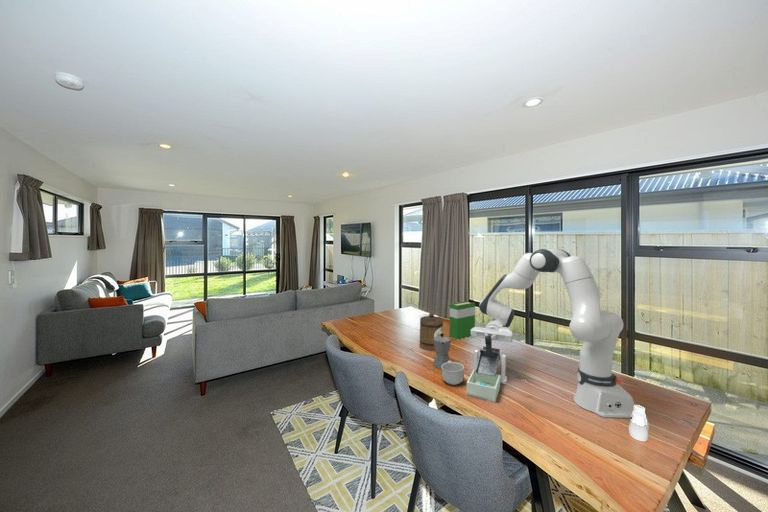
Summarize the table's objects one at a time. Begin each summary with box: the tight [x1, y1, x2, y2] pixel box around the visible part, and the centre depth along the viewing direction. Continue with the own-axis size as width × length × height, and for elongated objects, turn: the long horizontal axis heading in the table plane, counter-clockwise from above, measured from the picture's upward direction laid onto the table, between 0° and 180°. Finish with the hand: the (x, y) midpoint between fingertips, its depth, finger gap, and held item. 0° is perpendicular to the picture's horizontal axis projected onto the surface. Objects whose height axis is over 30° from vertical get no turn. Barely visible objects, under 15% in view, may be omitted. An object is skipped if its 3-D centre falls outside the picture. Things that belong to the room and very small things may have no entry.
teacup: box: [441, 360, 465, 386], centre depth 144 cm, size 14×11×8 cm
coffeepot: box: [433, 333, 452, 370], centre depth 162 cm, size 15×9×18 cm, turn 175°
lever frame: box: [473, 349, 508, 385], centre depth 147 cm, size 16×6×13 cm, turn 61°
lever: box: [475, 336, 502, 377], centre depth 142 cm, size 10×18×16 cm, turn 151°
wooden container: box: [419, 312, 444, 351], centre depth 190 cm, size 15×15×22 cm
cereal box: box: [449, 300, 476, 340], centre depth 209 cm, size 18×7×24 cm, turn 122°
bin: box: [466, 369, 501, 403], centre depth 134 cm, size 12×14×6 cm
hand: (488, 339), depth 143 cm, fingers closed, pressing on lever
